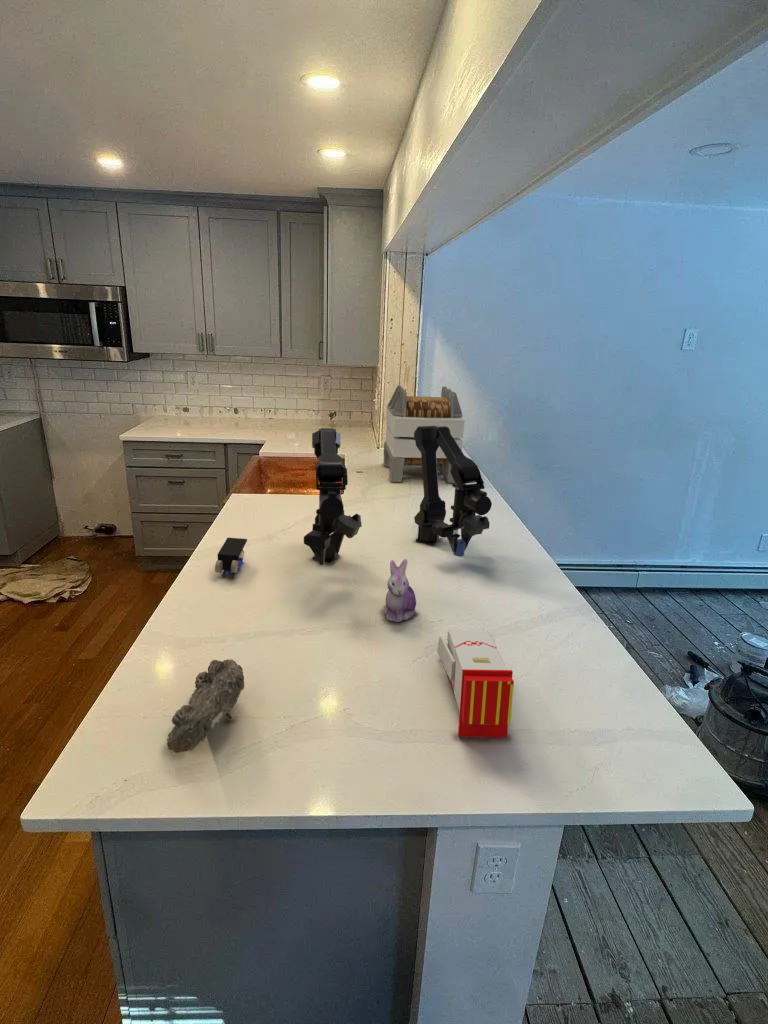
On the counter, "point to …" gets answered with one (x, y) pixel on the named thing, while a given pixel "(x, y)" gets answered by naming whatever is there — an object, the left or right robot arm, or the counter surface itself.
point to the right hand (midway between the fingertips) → (458, 551)
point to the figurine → (399, 594)
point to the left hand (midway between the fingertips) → (329, 558)
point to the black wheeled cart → (230, 556)
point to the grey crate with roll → (405, 420)
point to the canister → (460, 548)
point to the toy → (478, 682)
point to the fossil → (206, 705)
